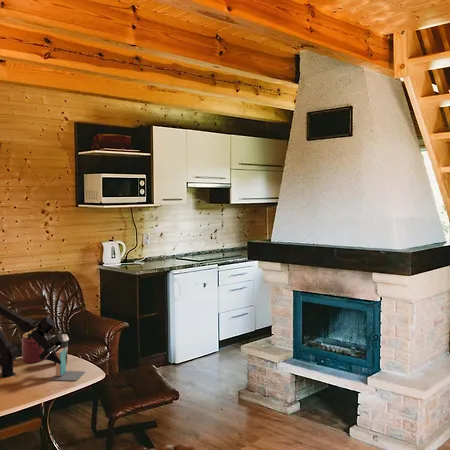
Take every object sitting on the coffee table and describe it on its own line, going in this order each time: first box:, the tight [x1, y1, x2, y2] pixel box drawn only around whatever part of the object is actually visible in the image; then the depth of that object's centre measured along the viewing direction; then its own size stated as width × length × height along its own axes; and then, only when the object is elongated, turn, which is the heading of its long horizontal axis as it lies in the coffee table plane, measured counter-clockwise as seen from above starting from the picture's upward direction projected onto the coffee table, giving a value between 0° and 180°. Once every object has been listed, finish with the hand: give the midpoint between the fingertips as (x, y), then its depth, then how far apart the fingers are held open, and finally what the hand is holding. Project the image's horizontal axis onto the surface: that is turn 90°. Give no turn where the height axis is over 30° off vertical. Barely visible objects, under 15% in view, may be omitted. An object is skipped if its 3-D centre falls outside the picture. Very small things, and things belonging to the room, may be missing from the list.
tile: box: [55, 349, 67, 376], centre depth 273 cm, size 2×6×12 cm, turn 174°
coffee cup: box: [51, 333, 70, 365], centre depth 293 cm, size 10×10×15 cm
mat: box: [50, 370, 86, 382], centre depth 273 cm, size 13×12×1 cm
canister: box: [21, 328, 46, 364], centre depth 299 cm, size 13×13×18 cm
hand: (63, 361), depth 272 cm, fingers closed on tile, 6 cm apart
